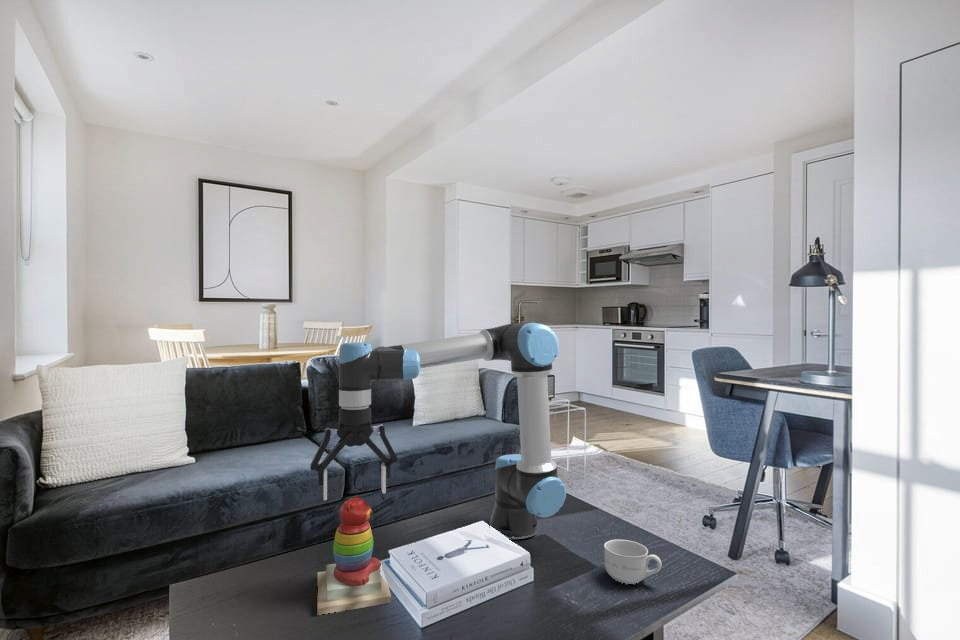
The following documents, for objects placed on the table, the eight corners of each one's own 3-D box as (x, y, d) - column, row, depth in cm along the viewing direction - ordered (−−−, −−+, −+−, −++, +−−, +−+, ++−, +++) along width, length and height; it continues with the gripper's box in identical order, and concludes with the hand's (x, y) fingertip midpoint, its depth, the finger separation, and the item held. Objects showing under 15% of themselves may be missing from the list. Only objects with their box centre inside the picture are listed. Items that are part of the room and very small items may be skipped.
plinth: (382, 568, 124) (382, 552, 124) (391, 602, 109) (391, 585, 109) (317, 578, 119) (317, 562, 119) (317, 615, 103) (317, 597, 104)
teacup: (596, 578, 120) (596, 546, 120) (616, 562, 128) (616, 533, 128) (649, 600, 111) (650, 566, 111) (667, 582, 119) (668, 550, 119)
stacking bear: (364, 587, 108) (365, 509, 108) (323, 582, 110) (324, 505, 110) (383, 564, 118) (384, 492, 118) (346, 559, 120) (346, 489, 120)
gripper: (404, 401, 122) (403, 484, 122) (300, 407, 114) (300, 495, 113) (409, 406, 115) (409, 494, 114) (299, 412, 106) (299, 507, 106)
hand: (354, 495), depth 114 cm, fingers open, 13 cm apart
